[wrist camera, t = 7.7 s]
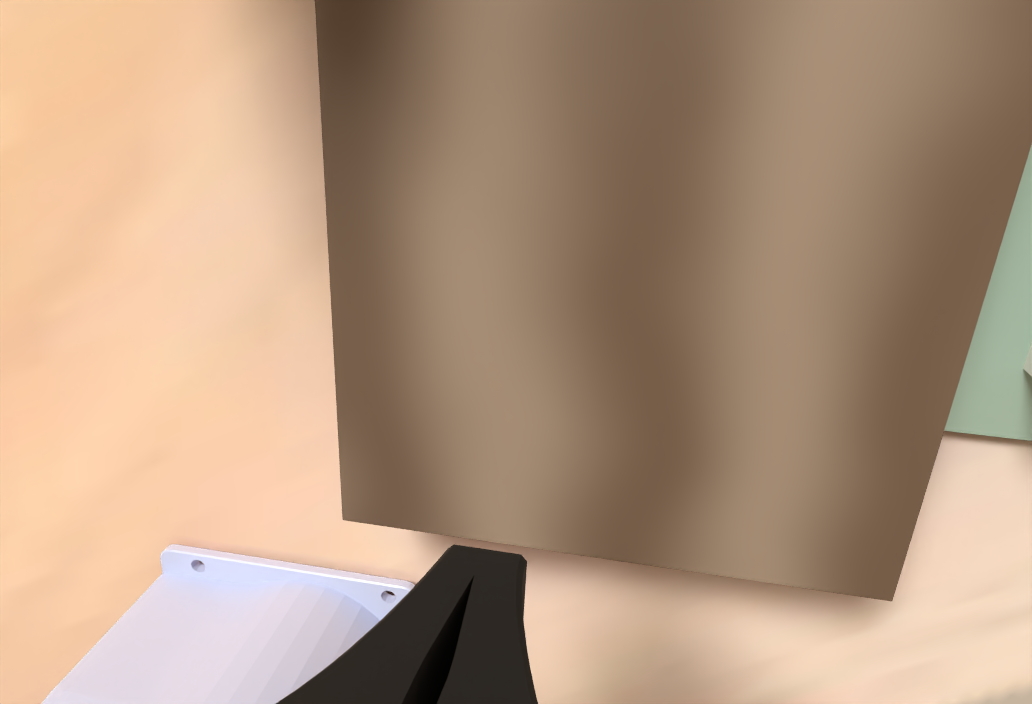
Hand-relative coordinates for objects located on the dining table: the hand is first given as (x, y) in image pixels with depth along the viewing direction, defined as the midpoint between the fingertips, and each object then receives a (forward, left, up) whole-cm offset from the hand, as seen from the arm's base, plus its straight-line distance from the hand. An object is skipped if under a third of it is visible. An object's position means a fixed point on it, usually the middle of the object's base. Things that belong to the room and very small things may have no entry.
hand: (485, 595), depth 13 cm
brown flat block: (+2, +5, -9) cm, 11 cm away
